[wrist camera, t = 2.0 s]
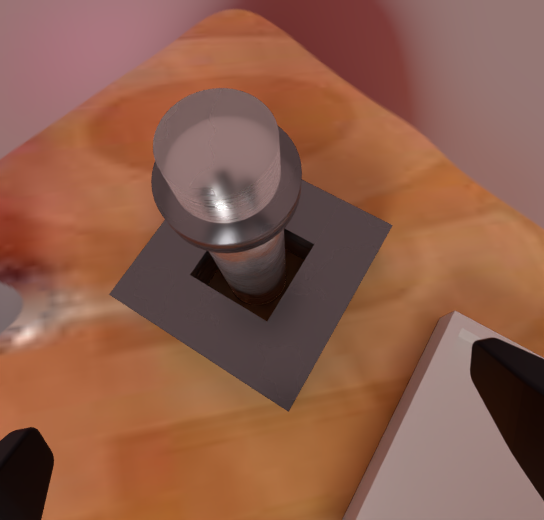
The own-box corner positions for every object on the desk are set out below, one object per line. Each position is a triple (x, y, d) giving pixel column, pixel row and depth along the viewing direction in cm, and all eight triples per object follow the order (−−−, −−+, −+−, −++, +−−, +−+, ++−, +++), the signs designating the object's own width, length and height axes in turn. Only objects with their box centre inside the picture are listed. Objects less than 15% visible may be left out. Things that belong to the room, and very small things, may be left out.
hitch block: (288, 408, 19) (288, 411, 16) (133, 307, 21) (109, 294, 18) (379, 246, 22) (392, 225, 19) (232, 170, 24) (224, 140, 21)
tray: (560, 782, 15) (601, 841, 13) (307, 590, 17) (309, 616, 15) (660, 438, 18) (704, 443, 16) (439, 317, 20) (455, 310, 18)
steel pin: (270, 330, 21) (241, 251, 9) (203, 289, 21) (94, 167, 10) (311, 263, 22) (335, 111, 10) (245, 227, 23) (195, 48, 11)
